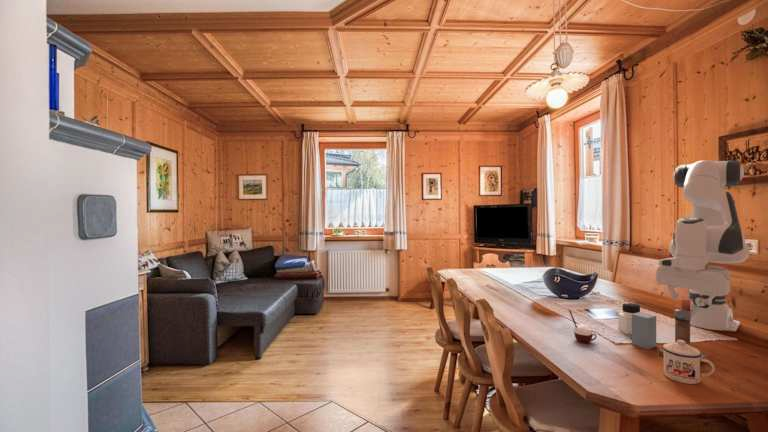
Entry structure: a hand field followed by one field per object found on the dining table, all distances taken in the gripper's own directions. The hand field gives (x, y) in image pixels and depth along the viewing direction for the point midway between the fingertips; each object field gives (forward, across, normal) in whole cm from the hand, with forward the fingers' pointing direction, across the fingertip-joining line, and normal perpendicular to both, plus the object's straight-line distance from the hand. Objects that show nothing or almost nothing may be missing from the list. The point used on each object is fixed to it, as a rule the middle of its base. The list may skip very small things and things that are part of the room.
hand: (690, 301), depth 123 cm
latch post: (+19, 0, +7) cm, 20 cm away
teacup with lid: (+19, -8, +24) cm, 31 cm away
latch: (+5, +1, 0) cm, 6 cm away
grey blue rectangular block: (+19, +12, +7) cm, 23 cm away
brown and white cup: (+19, +26, +23) cm, 39 cm away
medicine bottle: (+19, +22, -4) cm, 30 cm away
